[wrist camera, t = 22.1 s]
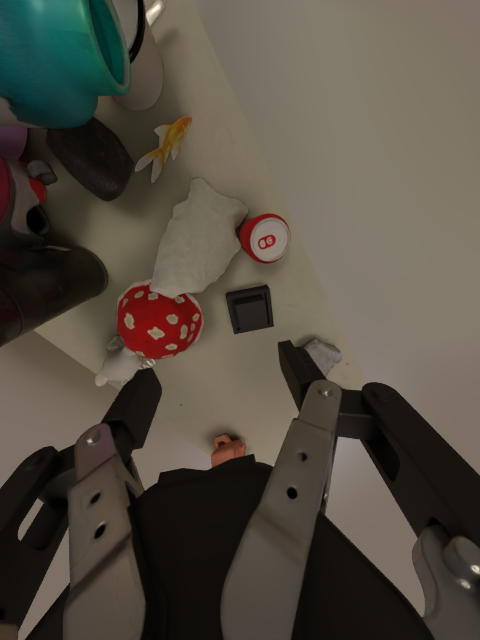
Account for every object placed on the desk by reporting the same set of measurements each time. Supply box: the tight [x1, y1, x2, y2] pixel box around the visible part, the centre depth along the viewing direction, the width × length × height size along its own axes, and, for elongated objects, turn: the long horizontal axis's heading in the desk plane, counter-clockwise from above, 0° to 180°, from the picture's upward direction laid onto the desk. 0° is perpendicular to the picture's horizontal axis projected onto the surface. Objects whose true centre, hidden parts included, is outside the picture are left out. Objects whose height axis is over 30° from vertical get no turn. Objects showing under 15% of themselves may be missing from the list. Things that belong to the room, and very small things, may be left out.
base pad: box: [226, 285, 274, 334], centre depth 40 cm, size 9×9×2 cm
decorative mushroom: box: [116, 279, 204, 359], centre depth 32 cm, size 14×14×15 cm
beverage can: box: [239, 214, 290, 264], centre depth 30 cm, size 6×6×12 cm
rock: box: [149, 178, 248, 299], centre depth 29 cm, size 12×4×20 cm
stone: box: [46, 117, 134, 201], centre depth 25 cm, size 8×8×10 cm
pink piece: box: [211, 434, 246, 468], centre depth 55 cm, size 12×12×10 cm
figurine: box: [95, 336, 155, 386], centre depth 39 cm, size 12×8×10 cm
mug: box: [111, 0, 166, 111], centre depth 21 cm, size 12×10×9 cm
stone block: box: [303, 338, 342, 377], centre depth 47 cm, size 12×5×10 cm
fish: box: [135, 116, 192, 183], centre depth 27 cm, size 10×1×5 cm, turn 131°
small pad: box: [235, 295, 268, 331], centre depth 39 cm, size 6×6×3 cm
